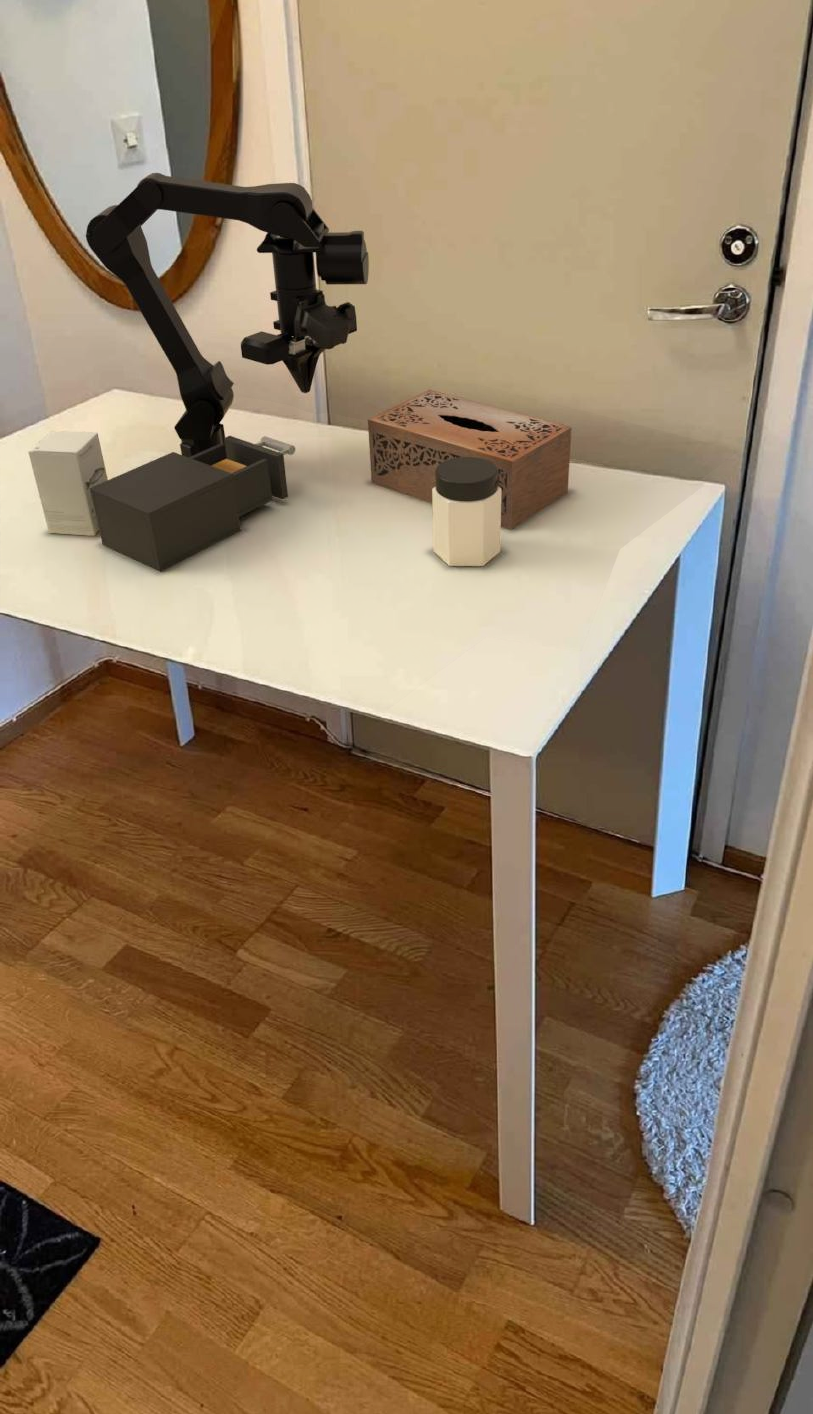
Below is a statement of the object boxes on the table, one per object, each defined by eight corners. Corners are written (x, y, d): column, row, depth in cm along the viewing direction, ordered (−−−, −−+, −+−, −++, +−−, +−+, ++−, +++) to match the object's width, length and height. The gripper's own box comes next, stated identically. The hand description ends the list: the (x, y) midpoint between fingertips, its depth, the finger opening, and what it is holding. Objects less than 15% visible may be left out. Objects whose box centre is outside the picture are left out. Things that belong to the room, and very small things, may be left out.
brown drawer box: (182, 506, 158) (173, 451, 153) (241, 530, 151) (232, 473, 146) (102, 544, 149) (89, 488, 144) (160, 571, 142) (148, 513, 137)
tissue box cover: (567, 492, 157) (571, 427, 151) (510, 529, 148) (512, 462, 142) (431, 450, 171) (429, 389, 165) (371, 482, 162) (367, 419, 156)
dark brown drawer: (258, 466, 166) (253, 424, 162) (311, 485, 160) (307, 442, 156) (167, 510, 155) (158, 466, 151) (219, 532, 149) (212, 487, 145)
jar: (510, 559, 142) (512, 475, 135) (456, 574, 139) (455, 489, 132) (477, 531, 148) (477, 450, 141) (424, 545, 146) (422, 463, 138)
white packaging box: (95, 537, 151) (76, 452, 143) (47, 533, 152) (25, 450, 145) (117, 513, 157) (99, 431, 149) (70, 510, 158) (50, 428, 151)
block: (230, 486, 158) (226, 458, 156) (251, 494, 156) (247, 465, 153) (208, 497, 156) (203, 468, 153) (228, 505, 153) (224, 476, 151)
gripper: (289, 310, 141) (300, 424, 150) (382, 277, 152) (386, 384, 161) (231, 297, 147) (245, 407, 156) (325, 265, 158) (333, 370, 167)
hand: (305, 392), depth 160 cm, fingers closed
